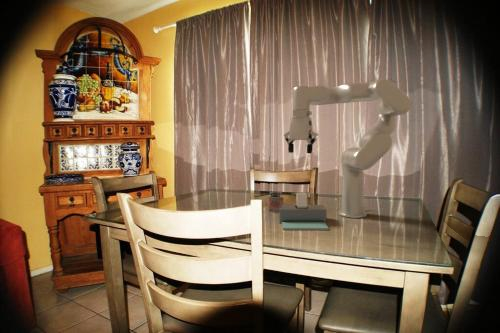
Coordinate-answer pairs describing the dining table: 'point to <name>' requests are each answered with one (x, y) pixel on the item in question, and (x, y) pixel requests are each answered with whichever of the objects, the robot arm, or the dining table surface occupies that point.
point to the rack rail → (302, 213)
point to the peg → (301, 201)
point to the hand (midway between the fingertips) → (299, 152)
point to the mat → (304, 226)
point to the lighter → (275, 201)
